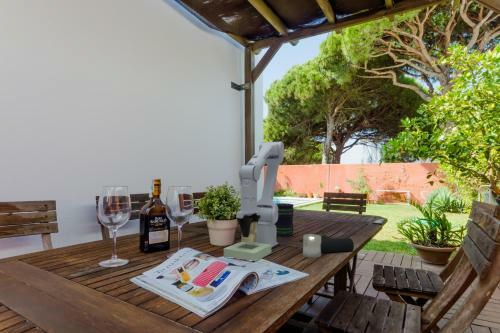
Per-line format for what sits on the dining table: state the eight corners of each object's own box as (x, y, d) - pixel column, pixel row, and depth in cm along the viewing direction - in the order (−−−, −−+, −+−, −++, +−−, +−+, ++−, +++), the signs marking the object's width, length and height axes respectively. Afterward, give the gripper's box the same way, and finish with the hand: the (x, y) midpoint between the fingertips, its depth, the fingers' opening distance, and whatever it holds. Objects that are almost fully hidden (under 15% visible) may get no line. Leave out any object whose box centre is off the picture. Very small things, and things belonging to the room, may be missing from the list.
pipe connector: (304, 234, 122) (336, 232, 127) (304, 247, 122) (336, 245, 127) (319, 241, 111) (354, 239, 116) (319, 255, 111) (353, 253, 116)
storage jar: (270, 236, 141) (270, 204, 141) (275, 232, 150) (275, 202, 151) (291, 238, 138) (291, 205, 138) (295, 234, 147) (295, 203, 147)
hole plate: (243, 248, 118) (243, 240, 118) (271, 252, 112) (271, 244, 112) (223, 257, 105) (223, 248, 105) (254, 262, 100) (254, 253, 100)
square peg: (246, 239, 111) (247, 220, 111) (256, 241, 109) (256, 221, 110) (241, 241, 108) (241, 222, 108) (251, 243, 106) (251, 223, 106)
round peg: (305, 252, 114) (306, 233, 114) (322, 254, 111) (322, 235, 111) (300, 256, 108) (301, 236, 109) (318, 258, 106) (318, 238, 106)
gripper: (249, 200, 101) (248, 240, 100) (267, 197, 114) (266, 233, 113) (231, 199, 104) (230, 238, 104) (250, 196, 117) (250, 231, 117)
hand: (248, 235), depth 109 cm, fingers closed on square peg, 4 cm apart
